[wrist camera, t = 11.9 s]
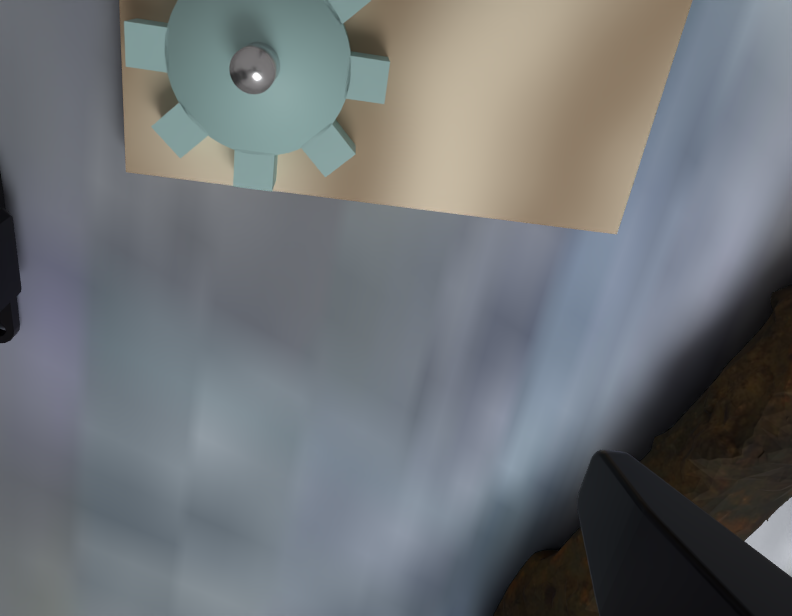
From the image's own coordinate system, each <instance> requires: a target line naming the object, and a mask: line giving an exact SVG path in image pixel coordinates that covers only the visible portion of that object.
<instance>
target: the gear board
mask: <svg viewBox="0 0 792 616" xmlns="http://www.w3.org/2000/svg"><path fill="white" fill-rule="evenodd" d="M691 3H692V0H119V6H120V32H121V57H122V83H123V109H124V134H125V160H126V172H130V173H137V174H145V175H153V176H161V177H169V178H177V179H185V180H193V181H201V182H208V183H216V184H224V185H232V186H233V187H241V188H249V189H257V190H264V191H280V192H287V193H295V194H303V195H311V196H319V197H327V198H335V199H343V200H351V201H358V202H366V203H374V204H382V205H390V206H398V207H406V208H414V209H422V210H430V211H437V212H445V213H453V214H461V215H469V216H477V217H485V218H493V219H501V220H508V221H516V222H524V223H532V224H540V225H548V226H556V227H564V228H572V229H579V230H587V231H595V232H603V233H611V234H617V232H618V229H619V226H620V223H621V220H622V216H623V213H624V210H625V207H626V204H627V201H628V198H629V195H630V192H631V189H632V186H633V182H634V179H635V176H636V173H637V170H638V167H639V164H640V161H641V158H642V155H643V152H644V148H645V145H646V142H647V139H648V136H649V133H650V130H651V127H652V124H653V121H654V118H655V114H656V111H657V108H658V105H659V102H660V99H661V96H662V93H663V90H664V87H665V84H666V80H667V77H668V74H669V71H670V68H671V65H672V62H673V59H674V56H675V53H676V50H677V47H678V43H679V40H680V37H681V34H682V31H683V28H684V25H685V22H686V19H687V16H688V13H689V9H690V6H691Z"/></svg>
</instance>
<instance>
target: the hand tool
mask: <svg viewBox="0 0 792 616" xmlns="http://www.w3.org/2000/svg"><path fill="white" fill-rule="evenodd" d="M770 302H771V305H772V309H773V312H772V314H771V315H770V317H769V318H768V320H767V321H766V323H765V324H764V326H763V327H762V328H761V329H760V330H759V332H758V333H757V334H756V335H755V336H754V337H753V338H752V339H751V340H750V341H749V342H748V343H747V344H746V345H745V346H744V348H743V349H742V350H741V351H740V352H739V353H738V354H737V355H736V356H735V357H734V358H733V359H732V360H731V361H730V362H729V363H728V365H727V366H726V367H725V368H724V369H723V371H722V372H721V373H720V375H719V376H718V377H717V379H716V380H715V381H714V382H713V383H712V384H711V385H710V387H709V388H708V389H707V390H706V391H705V392H704V393H703V394H702V395H701V397H700V398H699V399H698V400H697V401H696V402H695V403H694V404H693V405H692V406H691V407H690V409H689V410H688V411H687V412H686V413H685V414H684V415H683V416H682V417H681V418H680V419H679V421H678V422H677V423H676V424H675V425H674V426H673V427H672V428H670V429H669V430H668V431H667V432H666V433H663V434H661V435H659V436H656V437H655V438H654V442H653V445H652V448H651V451H650V452H649V453H648V454H647V455H646V456H645V457H644V458H643V459H642V460H641V461H640V463H642V464H643V465H644V466H646V467H647V468H648V469H649V470H651V471H652V472H653V473H655V474H656V475H657V476H659V477H660V478H661V479H663V480H664V481H665V482H667V483H668V484H669V485H671V486H672V487H673V488H675V489H676V490H677V491H679V492H680V493H681V494H682V495H684V496H685V497H686V498H688V499H689V500H690V501H692V502H693V503H694V504H696V505H697V506H698V507H700V508H701V509H702V510H704V511H705V512H706V513H708V514H709V515H710V516H712V517H713V518H714V519H715V520H717V521H718V522H719V523H721V524H722V525H723V526H725V527H726V528H727V529H729V530H730V531H731V532H733V533H734V534H735V535H737V536H738V537H739V538H741V539H742V540H743V541H745V540H746V539H747V538H748V537H749V536H750V535H751V534H752V533H753V532H754V531H756V530H757V529H758V528H759V527H760V526H761V525H762V524H763V522H764V521H765V520H767V521H768V519H769V517H770V516H771V515H772V514H773V513H774V512H775V511H776V510H777V509H778V508H779V507H780V506H782V505H783V504H784V503H785V502H786V501H788V500H789V498H791V497H792V285H789V286H787V287H784V288H782V289H780V290H777V291H775V292H772V295H771V300H770ZM493 616H599V611H598V607H597V603H596V599H595V594H594V589H593V584H592V579H591V574H590V569H589V564H588V559H587V554H586V549H585V544H584V539H583V535H582V530H581V527H580V528H579V529H578V530H577V531H576V532H575V533H574V534H573V535H572V537H571V538H570V539H569V540H568V541H567V542H566V543H565V544H564V545H563V547H562V548H561V549H560V550H559V551H557V550H543V551H540V552H537V553H534V554H533V555H532V556H531V557H530V558H529V559H528V561H527V562H526V563H525V565H524V566H523V567H522V568H521V570H520V571H519V572H518V574H517V575H516V577H515V578H514V580H513V581H512V583H511V584H510V585H509V587H508V589H507V591H506V593H505V595H504V596H503V598H502V600H501V602H500V604H499V606H498V608H497V610H496V611H495V613H494V615H493Z"/></svg>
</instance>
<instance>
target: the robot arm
mask: <svg viewBox="0 0 792 616" xmlns="http://www.w3.org/2000/svg"><path fill="white" fill-rule="evenodd" d="M20 292H21V281H20V273H19V265H18V257H17V249H16V241H15V233H14V224H13V218H12V216H11V215H10V213H9V212H8V211H7V210H6V209H5V204H4V196H3V188H2V180H1V173H0V323H1V324H2V325H3V326H4V327H5V329H6V330H2V329H0V343H6V342H8V341H10V340H11V339H12V338H13V337H14V336H15V335H16V334H17V332H18V331H19V329H20V321H19V313H18V305H17V298H16V296H17V295H18V294H19V293H20ZM577 508H578V515H579V520H580V525H581V530H582V535H583V539H584V544H585V549H586V554H587V559H588V564H589V569H590V574H591V579H592V584H593V589H594V594H595V599H596V603H597V607H598V611H599V616H792V577H791V576H789V575H788V574H787V573H785V572H784V571H783V570H781V569H780V568H779V567H777V566H776V565H775V564H774V563H772V562H771V561H770V560H768V559H767V558H766V557H764V556H763V555H762V554H760V553H759V552H758V551H756V550H755V549H754V548H752V547H751V546H750V545H748V544H747V543H746V542H744V541H743V540H742V539H741V538H739V537H738V536H737V535H735V534H734V533H733V532H731V531H730V530H729V529H727V528H726V527H725V526H723V525H722V524H721V523H719V522H718V521H717V520H715V519H714V518H713V517H712V516H710V515H709V514H708V513H706V512H705V511H704V510H702V509H701V508H700V507H698V506H697V505H696V504H694V503H693V502H692V501H690V500H689V499H688V498H686V497H685V496H684V495H682V494H681V493H680V492H679V491H677V490H676V489H675V488H673V487H672V486H671V485H669V484H668V483H667V482H665V481H664V480H663V479H661V478H660V477H659V476H657V475H656V474H655V473H653V472H652V471H651V470H649V469H648V468H647V467H646V466H644V465H643V464H642V463H640V462H639V461H638V460H636V459H635V458H634V457H632V456H631V455H630V454H628V453H626V452H622V451H611V450H599V451H597V452H595V454H594V455H593V456H592V458H591V461H590V464H589V466H588V469H587V472H586V475H585V477H584V480H583V483H582V486H581V488H580V491H579V494H578V501H577Z"/></svg>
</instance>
